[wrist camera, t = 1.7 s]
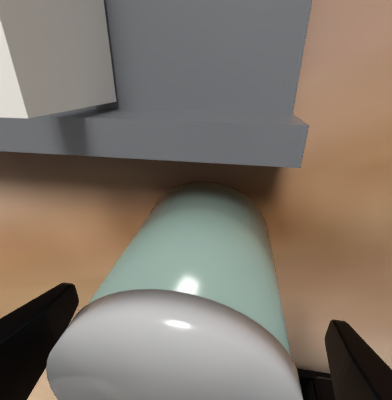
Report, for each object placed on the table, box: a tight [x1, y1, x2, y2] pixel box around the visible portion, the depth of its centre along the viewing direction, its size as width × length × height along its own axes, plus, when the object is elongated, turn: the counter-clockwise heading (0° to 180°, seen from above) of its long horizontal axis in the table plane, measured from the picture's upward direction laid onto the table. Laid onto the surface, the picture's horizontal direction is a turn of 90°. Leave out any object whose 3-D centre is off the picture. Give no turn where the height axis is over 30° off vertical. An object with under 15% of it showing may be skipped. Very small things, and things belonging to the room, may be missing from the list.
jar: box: [46, 182, 303, 400], centre depth 9 cm, size 6×6×7 cm
